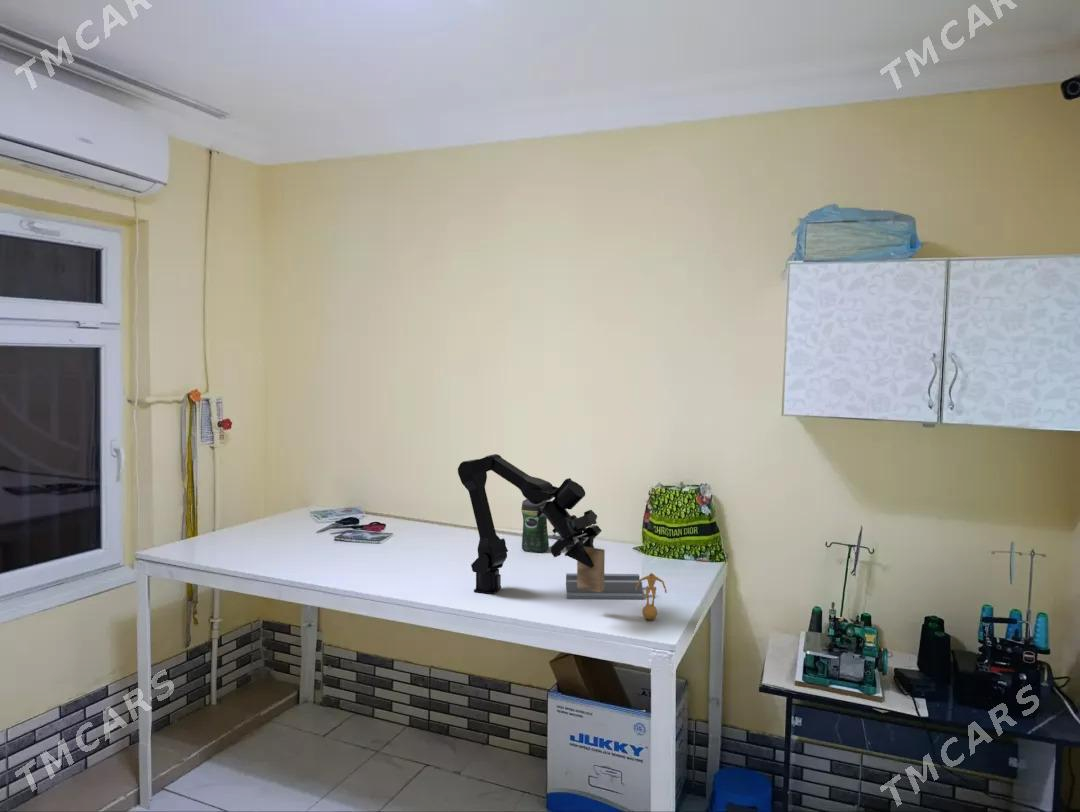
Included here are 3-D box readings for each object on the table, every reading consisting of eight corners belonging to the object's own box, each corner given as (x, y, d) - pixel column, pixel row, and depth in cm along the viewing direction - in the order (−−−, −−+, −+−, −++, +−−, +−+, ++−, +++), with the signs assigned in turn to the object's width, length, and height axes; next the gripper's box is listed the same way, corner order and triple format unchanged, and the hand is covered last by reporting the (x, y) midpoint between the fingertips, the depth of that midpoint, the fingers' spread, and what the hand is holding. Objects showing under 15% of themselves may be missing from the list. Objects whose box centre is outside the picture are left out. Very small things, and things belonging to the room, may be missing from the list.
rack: (566, 598, 207) (566, 584, 207) (565, 583, 221) (565, 570, 221) (643, 599, 207) (643, 585, 207) (637, 584, 221) (637, 571, 221)
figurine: (633, 620, 190) (633, 575, 189) (636, 612, 196) (637, 569, 195) (664, 623, 188) (665, 578, 187) (667, 615, 193) (668, 571, 193)
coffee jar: (551, 548, 263) (551, 498, 261) (543, 554, 255) (543, 502, 254) (526, 546, 266) (526, 496, 265) (518, 551, 259) (518, 500, 258)
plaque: (577, 587, 195) (577, 547, 195) (581, 585, 197) (582, 545, 197) (599, 592, 192) (600, 551, 191) (604, 590, 194) (604, 549, 193)
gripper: (560, 507, 188) (596, 555, 182) (595, 496, 203) (630, 540, 197) (535, 533, 192) (570, 580, 187) (571, 520, 208) (605, 564, 202)
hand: (595, 565), depth 193 cm, fingers closed on plaque, 2 cm apart
